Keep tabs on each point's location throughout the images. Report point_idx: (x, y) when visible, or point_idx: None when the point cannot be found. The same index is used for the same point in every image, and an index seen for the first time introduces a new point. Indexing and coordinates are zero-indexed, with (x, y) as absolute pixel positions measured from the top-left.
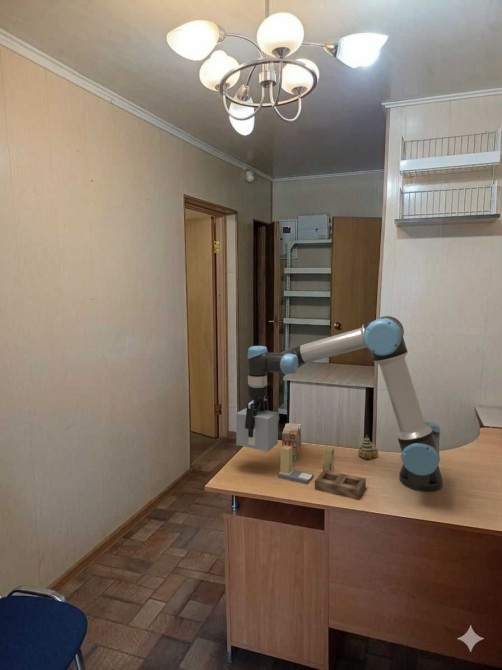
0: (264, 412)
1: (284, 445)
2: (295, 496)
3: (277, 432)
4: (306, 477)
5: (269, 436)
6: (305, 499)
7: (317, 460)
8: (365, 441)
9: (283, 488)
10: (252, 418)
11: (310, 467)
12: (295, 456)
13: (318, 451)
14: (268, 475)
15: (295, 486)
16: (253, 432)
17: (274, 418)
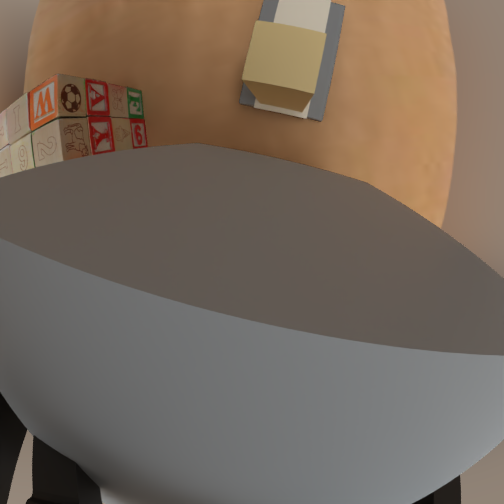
0: (109, 471)
1: (247, 75)
2: (440, 53)
3: (166, 147)
4: (316, 7)
5: (375, 196)
6: (444, 27)
7: (118, 28)
8: None
9: (404, 91)
10: (438, 497)
11: (184, 24)
12: (130, 92)
13: (55, 61)
14: (312, 165)
15: (376, 48)
16: None
17: (161, 206)
